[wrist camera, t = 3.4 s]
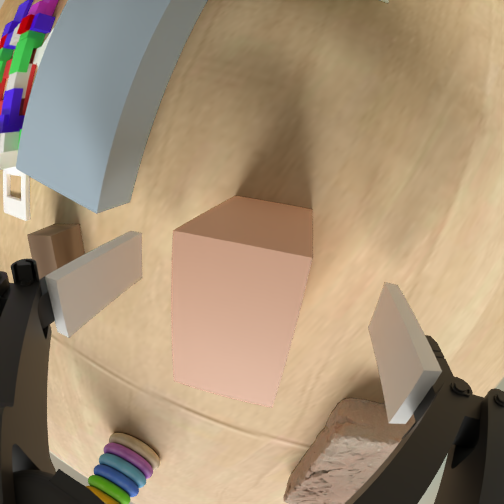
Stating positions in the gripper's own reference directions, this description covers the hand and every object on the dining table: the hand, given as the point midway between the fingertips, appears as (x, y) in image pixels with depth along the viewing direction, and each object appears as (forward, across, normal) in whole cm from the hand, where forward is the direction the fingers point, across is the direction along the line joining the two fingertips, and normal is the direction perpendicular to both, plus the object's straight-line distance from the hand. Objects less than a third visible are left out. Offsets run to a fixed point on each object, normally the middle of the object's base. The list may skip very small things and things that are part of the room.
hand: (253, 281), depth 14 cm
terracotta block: (+3, 0, 0) cm, 3 cm away
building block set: (+4, -29, +12) cm, 32 cm away
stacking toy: (+3, -13, -32) cm, 35 cm away
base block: (+4, -12, +13) cm, 18 cm away
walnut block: (+3, -16, -4) cm, 17 cm away
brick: (+4, +12, -19) cm, 22 cm away
